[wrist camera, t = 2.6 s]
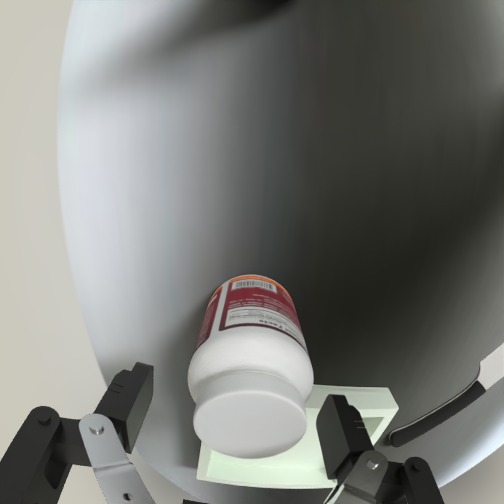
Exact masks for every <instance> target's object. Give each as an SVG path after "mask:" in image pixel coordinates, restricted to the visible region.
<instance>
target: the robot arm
mask: <svg viewBox="0 0 504 504" xmlns="http://www.w3.org/2000/svg"><path fill="white" fill-rule="evenodd" d="M153 371H154V369H153V366H151V365H147V364H143V363H140V362H137V363H136V364H135V366H134V368H133V369H132V371H128V370H125V369H124V370H122V371H121V372H119V373H118V374H116V375H115V377H114V379H113V380H112V382H111V384H110V386H109V387H108V390H107V391H106V392H105V394H104V396H103V397H102V400H101V401H100V403H99V404H98V406H97V408H96V410H95V411H94V413H93V414H89V415H86V416H84V417H83V418H82V419H80V420H76V419H68V418H61V417H59V414H58V413H57V412H56V411H55V410H54V409H52V408H51V407H47V406H40V407H36V408H35V409H33V410H32V411H31V412H30V414H29V415H28V417H27V418H26V420H25V421H24V423H23V424H22V426H21V428H20V429H19V431H18V432H17V434H16V436H15V437H14V439H13V441H12V442H11V444H10V446H9V447H8V449H7V451H6V453H5V454H4V456H3V458H2V460H1V461H0V504H57V503H58V500H59V498H60V495H61V492H62V490H63V487H64V484H65V482H66V479H67V477H68V474H69V472H70V469H71V467H72V464H74V465H81V466H90V467H93V470H94V473H95V476H96V478H97V481H98V483H99V485H100V488H101V490H102V492H103V494H104V497H105V499H106V501H107V503H108V504H155V502H154V500H153V499H152V497H151V495H150V493H149V492H148V490H147V488H146V487H145V485H144V483H143V481H142V479H141V477H140V476H139V474H138V472H137V470H136V468H135V467H134V465H133V464H132V463H131V462H130V461H129V459H128V457H127V455H126V453H129V454H131V452H132V450H133V447H134V445H135V442H136V439H137V437H138V434H139V431H140V429H141V426H142V424H143V421H144V418H145V416H146V413H147V411H148V408H149V405H150V403H151V400H152V396H153ZM316 429H317V434H318V438H319V442H320V447H321V451H322V456H323V460H324V465H325V469H326V474H327V478H328V480H332V479H337V485H336V486H335V487H334V489H333V490H332V492H331V493H330V494H329V496H328V497H327V499H326V500H325V502H324V503H323V504H375V503H376V504H407V503H408V504H444V501H443V499H442V496H441V494H440V491H439V489H438V486H437V484H436V481H435V479H434V477H433V474H432V472H431V470H430V467H429V465H428V463H427V462H426V461H425V460H423V459H422V458H419V457H411V458H408V459H407V460H406V461H405V462H404V463H397V462H390V461H388V460H387V458H386V457H385V456H384V455H383V454H382V453H380V452H378V451H375V450H374V447H373V445H372V442H371V439H370V437H369V434H368V432H367V429H366V428H365V424H364V422H363V419H362V417H361V414H360V412H359V411H358V410H357V409H356V408H355V407H354V406H353V405H349V404H348V401H347V399H346V396H345V395H338V394H329V395H328V396H327V397H326V399H325V401H324V403H323V405H322V407H321V409H320V411H319V413H318V415H317V419H316ZM125 452H126V453H125ZM405 496H406V498H405ZM406 499H407V501H406ZM183 504H207V503H201V502H195V501H189V500H183Z"/></svg>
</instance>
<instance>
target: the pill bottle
mask: <svg viewBox="0 0 504 504" xmlns="http://www.w3.org/2000/svg"><path fill="white" fill-rule="evenodd" d="M313 378H314V377H313V369H312V366H311V361H310V358H309V355H308V351H307V348H306V344H305V341H304V337H303V334H302V330H301V327H300V324H299V320H298V317H297V314H296V310H295V307H294V304H293V301H292V299H291V297H290V295H289V294H288V292H287V291H286V290H285V289H284V288H283V287H282V286H281V285H280V284H279V283H277V282H276V281H274V280H272V279H270V278H267V277H264V276H260V275H241V276H238V277H235V278H232V279H230V280H228V281H226V282H225V283H223V284H222V285H221V286H220V287H219V288H218V289H217V290H216V291H215V293H214V294H213V296H212V297H211V299H210V301H209V304H208V307H207V310H206V313H205V316H204V320H203V323H202V326H201V329H200V332H199V336H198V339H197V342H196V345H195V348H194V352H193V355H192V358H191V361H190V366H189V370H188V387H189V390H190V394H191V396H192V398H193V400H194V402H195V403H196V407H195V412H194V416H193V426H194V430H195V432H196V434H197V436H198V437H199V438H200V440H201V441H202V442H203V443H204V444H206V445H207V446H208V447H210V448H211V449H213V450H215V451H217V452H219V453H221V454H224V455H227V456H231V457H236V458H242V459H260V458H267V457H272V456H275V455H278V454H281V453H283V452H285V451H287V450H289V449H291V448H292V447H293V446H295V445H296V444H297V443H298V442H299V441H300V440H301V439H302V437H303V436H304V434H305V432H306V428H307V417H306V410H305V403H306V402H307V400H308V399H309V396H310V394H311V391H312V387H313Z"/></svg>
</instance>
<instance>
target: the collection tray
mask: <svg viewBox="0 0 504 504" xmlns="http://www.w3.org/2000/svg"><path fill="white" fill-rule="evenodd" d="M329 394H338V395H345V396H346V399H347V401H348V404H349V405H353V406H354V407H355V408H356V409H357V410H358V411H359V412H360V414H361V417H362V419H363V422H364V424H365V428H366V429H367V432H368V434H369V437H370V439H371V442H372V445H374V444H375V443H376V441H377V440H378V438H379V437H380V436H381V434H382V433H383V431H384V430H385V428H386V427H387V426H388V424H389V423H390V421H391V420H392V418H393V417H394V415H395V413H396V412H397V410H398V409H399V408H398V406H397V404H396V402H395V400H394V398H393V396H392V395H391V393H390V391H389V389H388V388H377V387H343V386H326V385H313V387H312V391H311V394H310V396H309V399H308V400H307V402H306V403H305V410H306V417H307V428H306V432H305V434H304V436H303V437H302V439H301V440H300V441H299V442H298V443H297V444H296V445H295V446H293V447H292V448H291V449H289V450H287V451H285V452H283V453H281V454H278V455H275V456H272V457H267V458H260V459H242V458H236V457H231V456H227V455H224V454H221V453H219V452H217V451H215V450H213V449H211V448H210V447H208V446H207V445H206V444H204V443H203V442H201V449H200V456H199V463H198V470H197V478H196V479H199V480H205V481H211V482H217V483H224V484H232V485H241V486H251V487H265V488H293V489H303V488H332V487H335V486H336V485H337V479H332V480H328V478H327V474H326V469H325V465H324V460H323V456H322V451H321V447H320V442H319V438H318V434H317V429H316V419H317V415H318V413H319V411H320V409H321V407H322V405H323V403H324V401H325V399H326V397H327V396H328V395H329Z"/></svg>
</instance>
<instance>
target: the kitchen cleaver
mask: <svg viewBox="0 0 504 504" xmlns="http://www.w3.org/2000/svg"><path fill="white" fill-rule="evenodd" d="M503 376H504V343H503V344H502V345H501V346H500V347H498V348H497V349H496V350H495V351H494V352H492V353H491V354H490V355H489V356H488V357H486V358H485V359H484V360H482V361H481V362H480V371H479V374H478V376H477V378H476V379H475V380H474V381H473V382H472V383H471V384H470V385H469V386H468V387H467V388H466V389H465V390H463V391H462V392H461V393H459V394H458V395H456V396H455V397H453V398H452V399H450V400H449V401H447V402H446V403H444V404H443V405H441V406H439V407H438V408H436V409H434V410H433V411H431V412H429V413H428V414H426V415H424V416H422V417H421V418H419V419H417V420H415V421H413V422H411V423H409V424H407V425H405V426H403V427H400V428H398V429H395V430H393V431H392V432H391V433H390V434H389V439H390V442H391V444H392V446H393V447H400V446H402V445H404V444H406V443H407V442H409V441H411V440H413V439H415V438H417V437H419V436H420V435H422V434H424V433H426V432H427V431H429V430H431V429H432V428H434V427H436V426H437V425H439V424H441V423H442V422H444V421H446V420H447V419H449V418H450V417H452V416H453V415H455V414H456V413H458V412H459V411H461V410H462V409H464V408H465V407H467V406H468V405H470V404H471V403H472V402H474V401H475V400H476V399H478V398H479V397H480V396H481V395H483V394H484V393H485V392H486V390H487V389H488V388H489V387H490V386H492V385H493V384H494V383H496V382H497V381H498V380H499V379H501V378H502V377H503Z"/></svg>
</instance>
